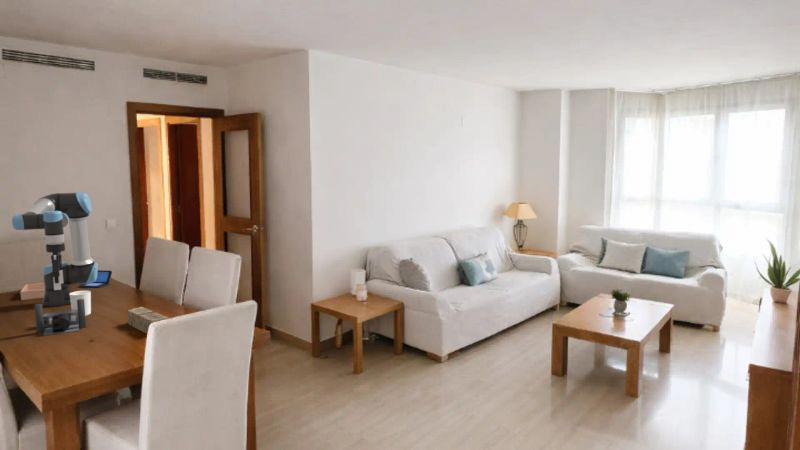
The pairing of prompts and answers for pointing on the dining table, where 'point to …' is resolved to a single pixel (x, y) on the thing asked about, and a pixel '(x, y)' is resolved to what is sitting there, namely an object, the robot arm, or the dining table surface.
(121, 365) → the dining table surface
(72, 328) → the mat
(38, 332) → the post
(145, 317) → the block tower
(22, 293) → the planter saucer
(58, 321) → the black rounded block
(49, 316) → the breaker panel
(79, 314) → the post
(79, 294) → the candle holder
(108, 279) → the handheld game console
